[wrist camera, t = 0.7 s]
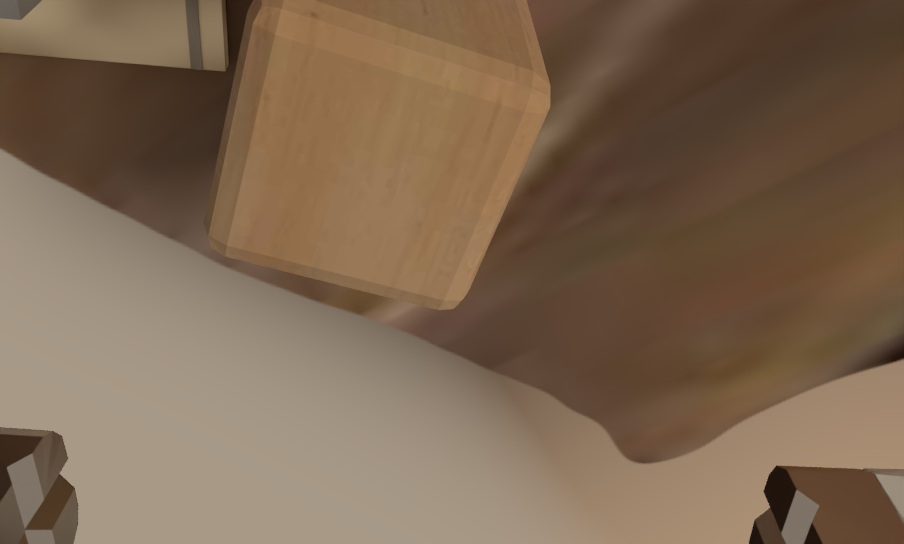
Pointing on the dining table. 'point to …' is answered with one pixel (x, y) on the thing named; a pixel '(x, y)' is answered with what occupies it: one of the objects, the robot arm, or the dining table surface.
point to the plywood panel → (124, 32)
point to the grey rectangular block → (16, 8)
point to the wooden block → (377, 140)
